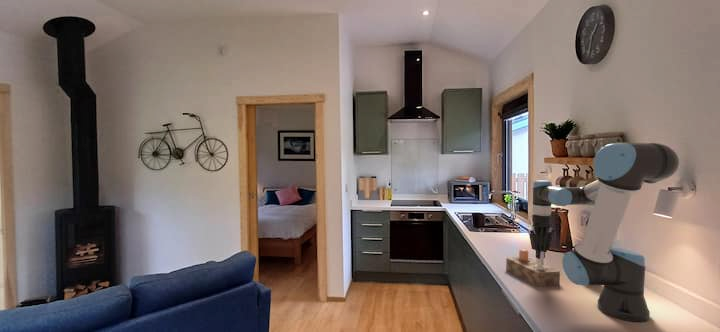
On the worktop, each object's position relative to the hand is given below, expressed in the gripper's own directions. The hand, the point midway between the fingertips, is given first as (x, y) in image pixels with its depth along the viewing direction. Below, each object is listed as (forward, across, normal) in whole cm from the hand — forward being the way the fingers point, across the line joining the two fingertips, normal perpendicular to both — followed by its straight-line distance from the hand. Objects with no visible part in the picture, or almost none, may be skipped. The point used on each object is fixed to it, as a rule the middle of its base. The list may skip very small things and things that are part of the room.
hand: (540, 265), depth 153 cm
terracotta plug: (+2, 0, -11) cm, 11 cm away
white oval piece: (+6, 0, 0) cm, 6 cm away
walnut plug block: (+7, 0, -5) cm, 9 cm away
